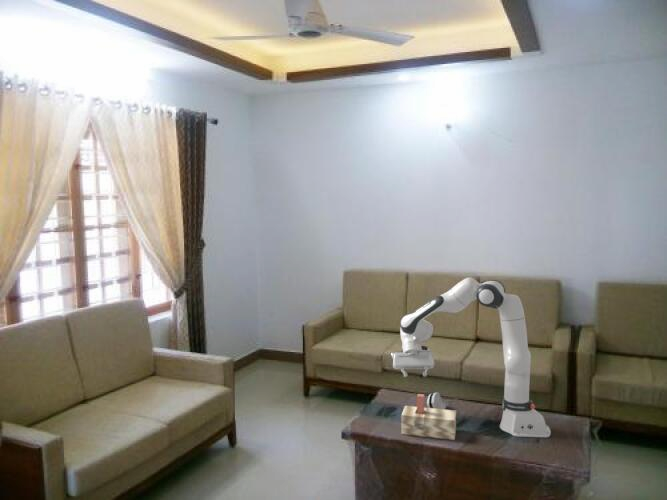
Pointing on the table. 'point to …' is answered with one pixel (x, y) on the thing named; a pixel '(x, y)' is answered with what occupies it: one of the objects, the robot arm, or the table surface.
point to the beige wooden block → (429, 422)
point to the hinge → (435, 401)
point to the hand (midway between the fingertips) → (415, 376)
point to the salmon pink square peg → (420, 404)
